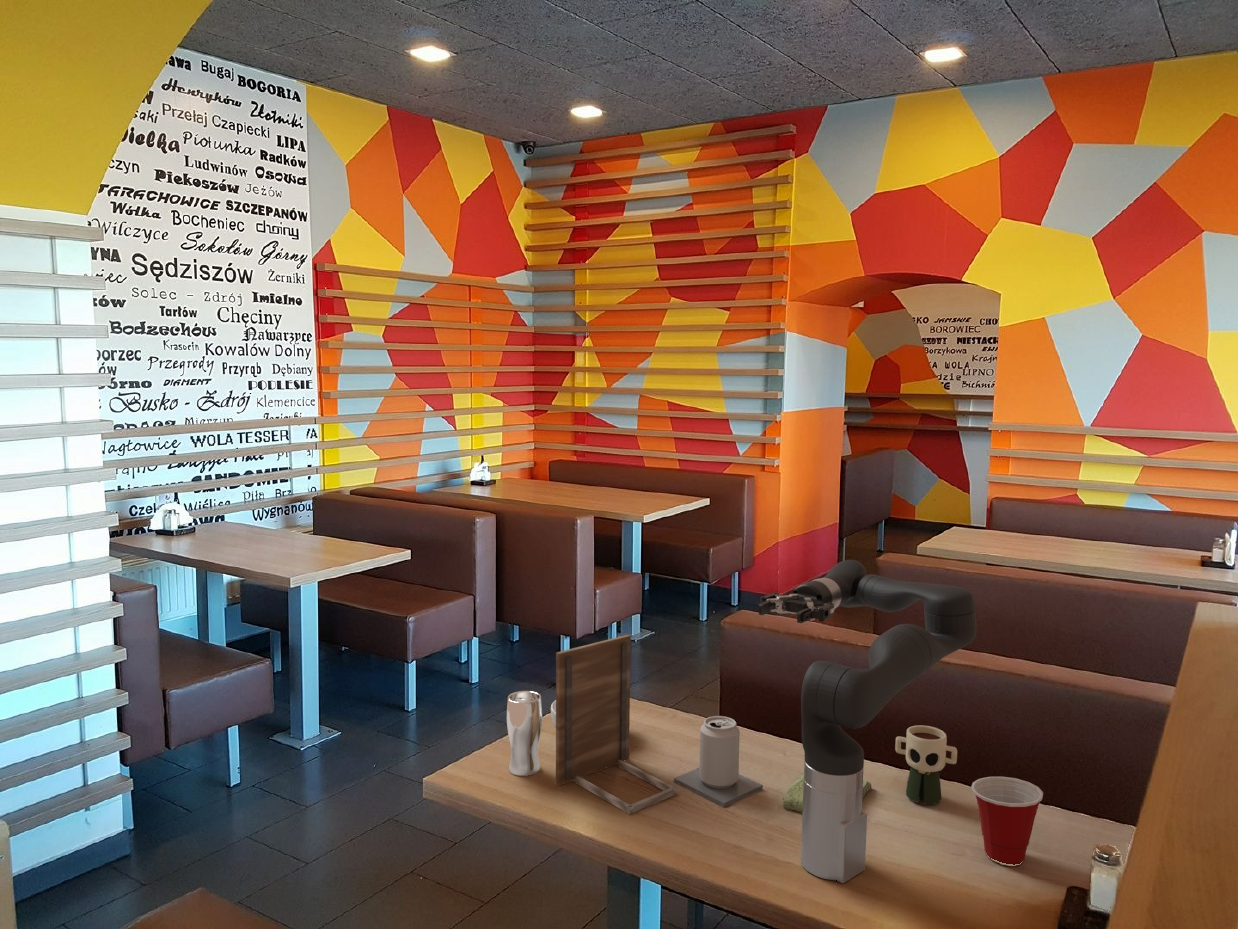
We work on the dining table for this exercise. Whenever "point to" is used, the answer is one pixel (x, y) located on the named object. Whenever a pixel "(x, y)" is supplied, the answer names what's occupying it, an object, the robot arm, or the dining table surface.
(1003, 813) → the plastic cup
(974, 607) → the robot arm
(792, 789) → the washcloth
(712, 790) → the slate board
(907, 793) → the character mug
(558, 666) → the wooden stand
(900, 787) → the dining table surface
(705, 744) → the can
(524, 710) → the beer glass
